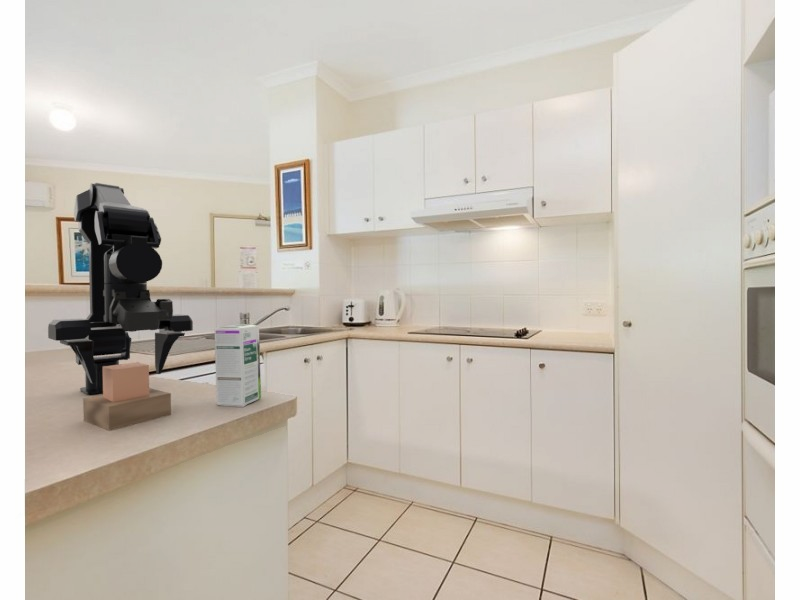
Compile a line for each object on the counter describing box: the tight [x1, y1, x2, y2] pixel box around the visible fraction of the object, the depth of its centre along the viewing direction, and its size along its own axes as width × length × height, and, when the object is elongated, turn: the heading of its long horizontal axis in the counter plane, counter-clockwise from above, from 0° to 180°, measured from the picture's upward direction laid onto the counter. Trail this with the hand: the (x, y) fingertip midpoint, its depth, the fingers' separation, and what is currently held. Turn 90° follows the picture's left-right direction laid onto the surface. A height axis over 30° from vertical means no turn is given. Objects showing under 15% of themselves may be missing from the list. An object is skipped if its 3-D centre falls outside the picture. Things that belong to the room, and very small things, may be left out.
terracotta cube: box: [102, 361, 150, 402], centre depth 64 cm, size 5×5×5 cm
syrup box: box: [213, 323, 262, 408], centre depth 73 cm, size 6×6×14 cm
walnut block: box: [82, 387, 172, 432], centre depth 64 cm, size 9×9×4 cm
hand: (127, 378), depth 64 cm, fingers open, 9 cm apart
